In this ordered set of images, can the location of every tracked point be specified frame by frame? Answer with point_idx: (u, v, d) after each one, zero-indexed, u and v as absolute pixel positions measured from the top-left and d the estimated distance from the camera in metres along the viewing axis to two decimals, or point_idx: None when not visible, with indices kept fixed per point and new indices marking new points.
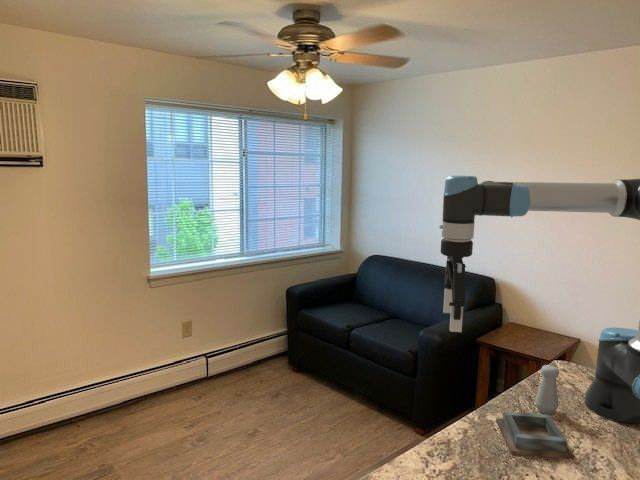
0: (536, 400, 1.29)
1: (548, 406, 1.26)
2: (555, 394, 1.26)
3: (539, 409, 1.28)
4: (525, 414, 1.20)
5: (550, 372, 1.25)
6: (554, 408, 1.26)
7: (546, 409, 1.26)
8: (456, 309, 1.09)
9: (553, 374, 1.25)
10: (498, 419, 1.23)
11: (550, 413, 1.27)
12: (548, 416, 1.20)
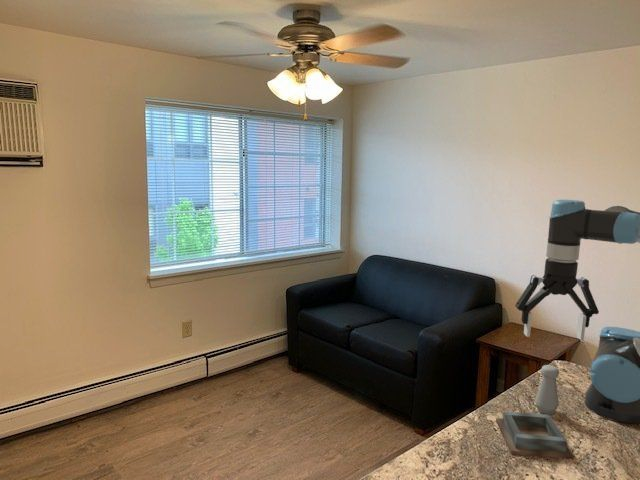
0: (536, 400, 1.29)
1: (548, 406, 1.26)
2: (555, 394, 1.26)
3: (539, 409, 1.28)
4: (525, 414, 1.20)
5: (550, 372, 1.25)
6: (554, 408, 1.26)
7: (546, 409, 1.26)
8: (522, 313, 1.25)
9: (553, 374, 1.25)
10: (498, 419, 1.23)
11: (550, 413, 1.27)
12: (548, 416, 1.20)
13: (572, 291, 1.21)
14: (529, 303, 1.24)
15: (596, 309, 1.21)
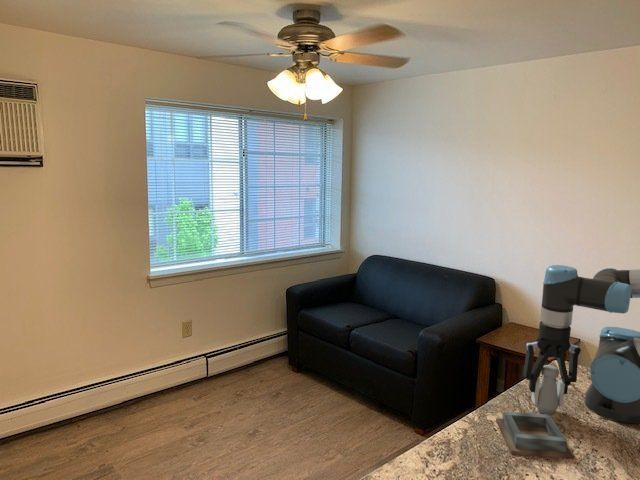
0: None
1: (548, 406, 1.26)
2: (555, 394, 1.26)
3: (539, 409, 1.28)
4: (525, 414, 1.20)
5: (550, 372, 1.25)
6: (554, 408, 1.26)
7: (546, 409, 1.26)
8: (530, 381, 1.28)
9: (553, 374, 1.25)
10: (498, 419, 1.23)
11: (550, 413, 1.27)
12: (548, 416, 1.20)
13: (562, 356, 1.24)
14: (534, 371, 1.27)
15: (575, 378, 1.25)
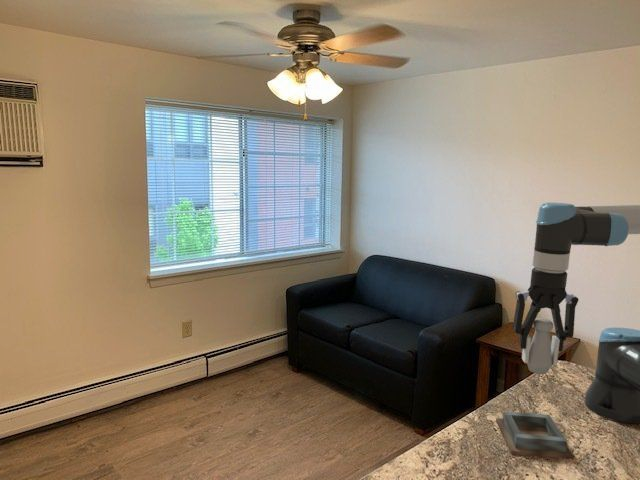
0: None
1: (540, 363, 1.10)
2: (548, 350, 1.11)
3: (530, 368, 1.13)
4: (525, 414, 1.20)
5: (543, 325, 1.10)
6: (547, 366, 1.10)
7: (538, 367, 1.11)
8: (520, 336, 1.13)
9: (547, 327, 1.09)
10: (498, 419, 1.23)
11: (542, 372, 1.11)
12: (548, 416, 1.20)
13: (557, 306, 1.09)
14: (524, 325, 1.12)
15: (572, 332, 1.10)
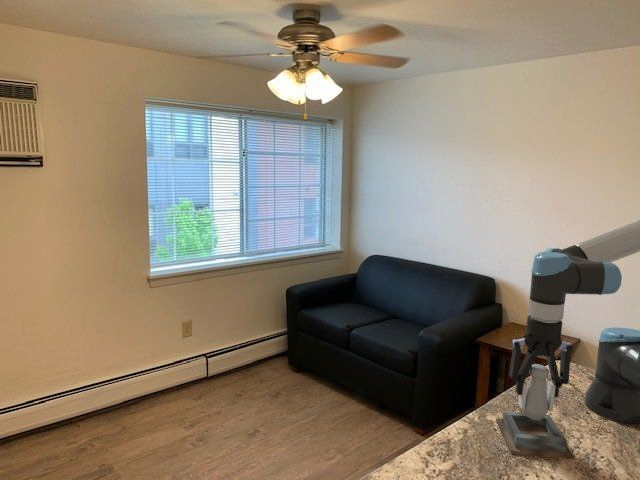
0: None
1: (536, 410, 1.12)
2: (544, 397, 1.12)
3: (527, 413, 1.14)
4: None
5: (539, 372, 1.11)
6: (543, 413, 1.12)
7: (534, 413, 1.12)
8: (516, 382, 1.14)
9: (542, 374, 1.11)
10: (498, 419, 1.23)
11: (539, 418, 1.13)
12: (548, 416, 1.20)
13: (552, 354, 1.10)
14: (521, 372, 1.13)
15: (567, 379, 1.11)
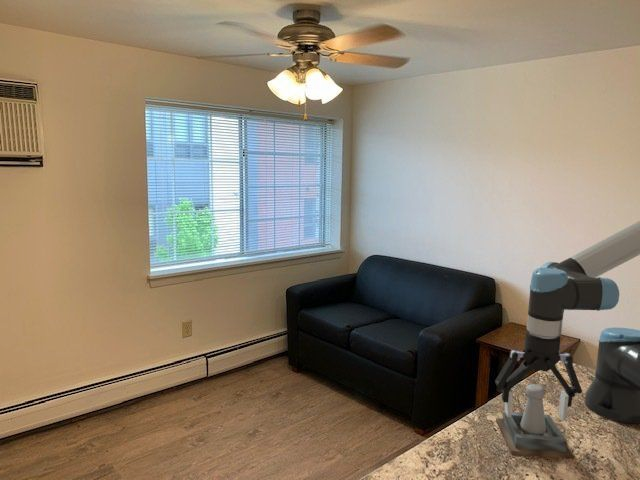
0: (521, 424, 1.16)
1: (534, 430, 1.13)
2: (542, 417, 1.13)
3: None
4: None
5: (536, 393, 1.12)
6: (541, 432, 1.13)
7: (533, 433, 1.13)
8: (502, 390, 1.15)
9: (539, 395, 1.12)
10: (498, 419, 1.23)
11: None
12: (548, 416, 1.20)
13: (554, 368, 1.11)
14: (509, 380, 1.14)
15: (579, 388, 1.11)
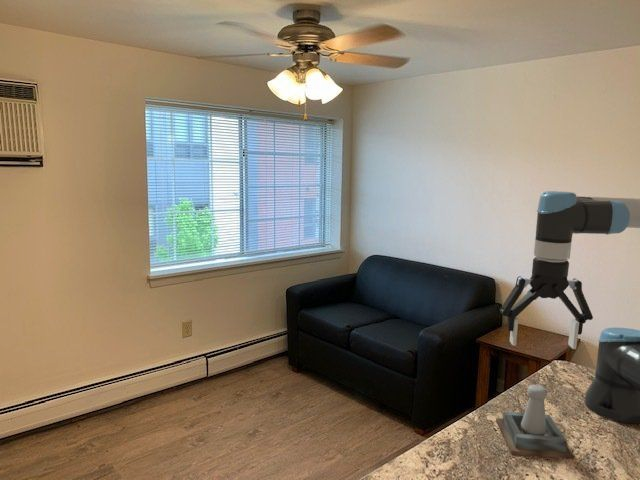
0: (522, 423, 1.16)
1: (535, 430, 1.13)
2: (543, 417, 1.13)
3: None
4: None
5: (538, 393, 1.12)
6: (542, 433, 1.13)
7: (533, 433, 1.13)
8: (507, 319, 1.12)
9: (541, 395, 1.12)
10: (498, 419, 1.23)
11: None
12: (548, 416, 1.20)
13: (563, 294, 1.07)
14: (515, 308, 1.11)
15: (590, 314, 1.08)
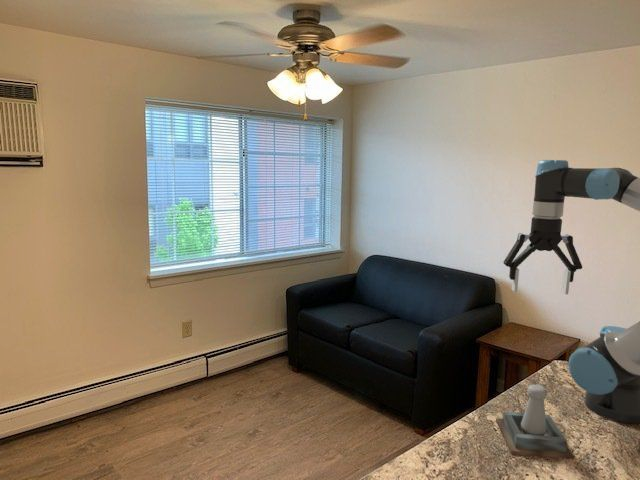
0: (522, 423, 1.16)
1: (535, 430, 1.13)
2: (543, 417, 1.13)
3: None
4: None
5: (538, 393, 1.12)
6: (542, 433, 1.13)
7: (533, 433, 1.13)
8: (510, 269, 1.31)
9: (541, 395, 1.12)
10: (498, 419, 1.23)
11: None
12: (548, 416, 1.20)
13: (557, 247, 1.27)
14: (516, 259, 1.30)
15: (580, 264, 1.27)
